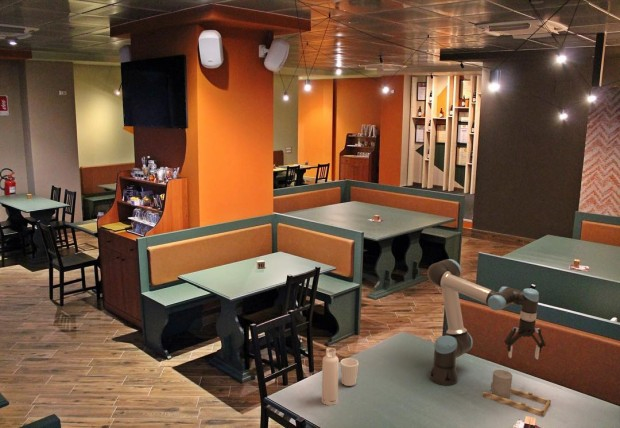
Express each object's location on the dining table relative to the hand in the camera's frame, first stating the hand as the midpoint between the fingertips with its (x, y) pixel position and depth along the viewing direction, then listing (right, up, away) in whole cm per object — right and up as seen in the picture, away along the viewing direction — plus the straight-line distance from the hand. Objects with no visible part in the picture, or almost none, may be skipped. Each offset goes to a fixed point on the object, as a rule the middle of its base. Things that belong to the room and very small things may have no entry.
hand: (523, 357), depth 280 cm
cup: (-89, -18, +14) cm, 92 cm away
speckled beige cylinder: (-10, -21, +5) cm, 24 cm away
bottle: (-100, -21, -4) cm, 103 cm away
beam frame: (-4, -22, 0) cm, 22 cm away
